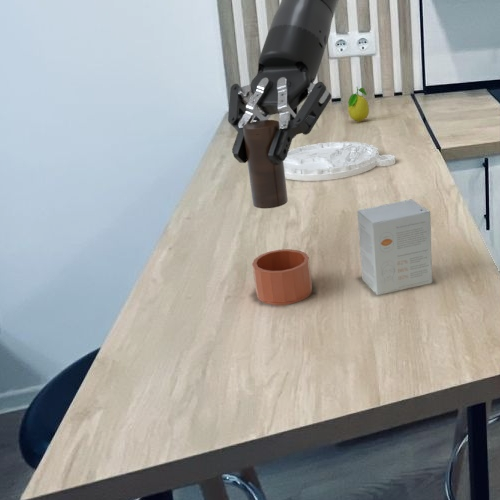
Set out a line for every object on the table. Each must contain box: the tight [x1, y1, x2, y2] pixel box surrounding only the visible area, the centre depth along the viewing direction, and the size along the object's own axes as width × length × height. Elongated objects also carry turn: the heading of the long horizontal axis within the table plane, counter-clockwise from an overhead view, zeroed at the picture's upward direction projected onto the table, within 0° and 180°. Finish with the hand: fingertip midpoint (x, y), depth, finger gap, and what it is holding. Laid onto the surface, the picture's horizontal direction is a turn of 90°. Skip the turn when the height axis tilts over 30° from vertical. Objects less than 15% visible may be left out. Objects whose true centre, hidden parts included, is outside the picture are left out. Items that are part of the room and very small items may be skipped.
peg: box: [243, 119, 289, 210], centre depth 81 cm, size 4×4×10 cm
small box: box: [357, 198, 433, 296], centre depth 87 cm, size 8×6×10 cm
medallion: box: [283, 140, 396, 182], centre depth 145 cm, size 24×27×2 cm
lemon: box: [347, 86, 370, 123], centre depth 179 cm, size 7×6×10 cm
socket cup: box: [251, 248, 313, 306], centre depth 89 cm, size 8×8×5 cm
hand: (256, 160), depth 79 cm, fingers closed on peg, 4 cm apart
